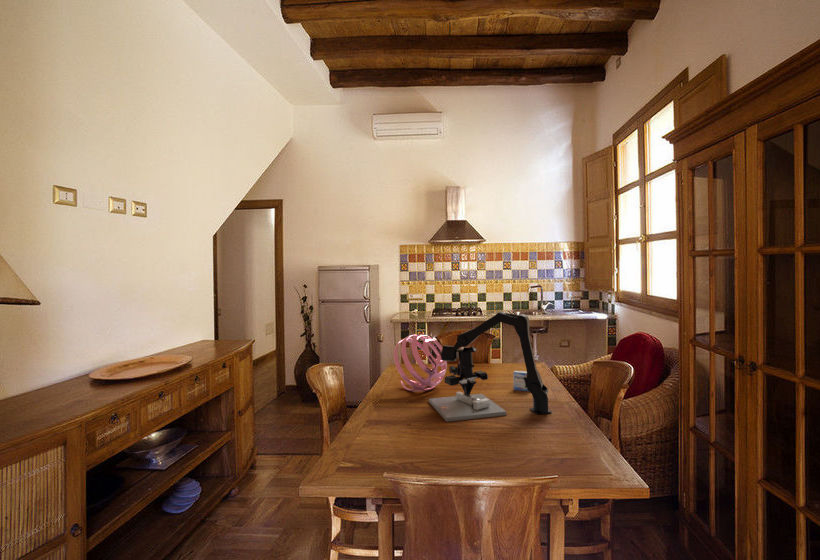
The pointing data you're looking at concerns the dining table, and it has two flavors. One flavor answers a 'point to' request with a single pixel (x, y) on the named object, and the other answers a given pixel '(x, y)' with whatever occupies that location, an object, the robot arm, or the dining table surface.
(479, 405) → the latch key
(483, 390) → the dining table surface
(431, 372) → the pink spiral sphere sculpture
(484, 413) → the latch plate
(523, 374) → the medicine box
